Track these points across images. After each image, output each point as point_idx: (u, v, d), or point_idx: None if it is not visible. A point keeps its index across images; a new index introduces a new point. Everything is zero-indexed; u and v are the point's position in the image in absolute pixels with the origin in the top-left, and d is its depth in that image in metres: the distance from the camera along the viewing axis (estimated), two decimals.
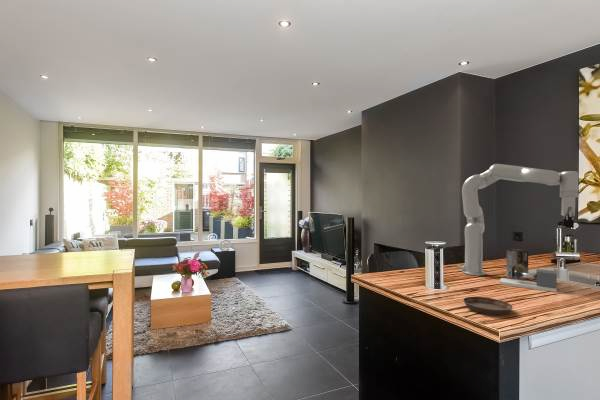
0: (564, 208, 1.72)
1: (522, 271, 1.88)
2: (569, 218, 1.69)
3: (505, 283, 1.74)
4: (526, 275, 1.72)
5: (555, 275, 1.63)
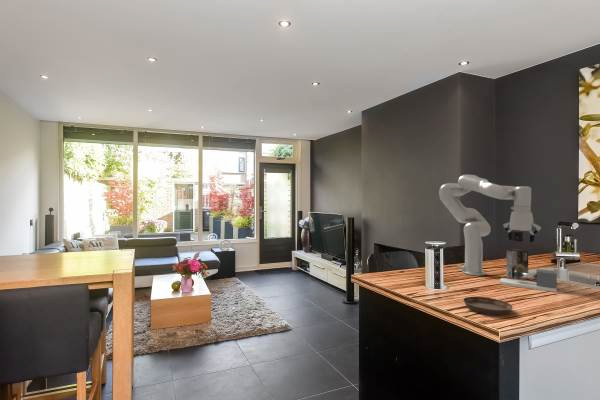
0: (530, 223, 1.73)
1: (522, 271, 1.88)
2: (535, 233, 1.73)
3: (505, 283, 1.74)
4: (526, 275, 1.72)
5: (555, 275, 1.63)
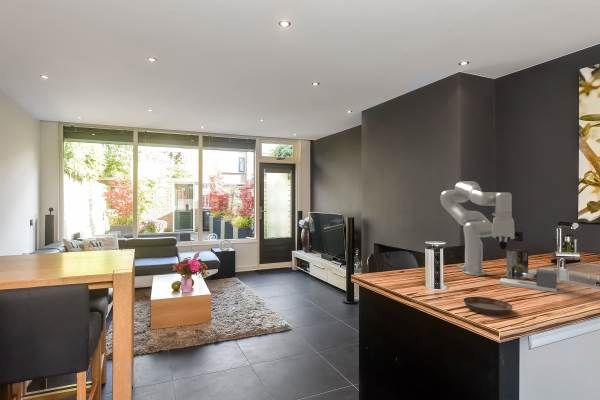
0: (513, 229, 1.74)
1: (522, 271, 1.88)
2: (507, 240, 1.77)
3: (505, 283, 1.74)
4: (526, 275, 1.72)
5: (555, 275, 1.63)
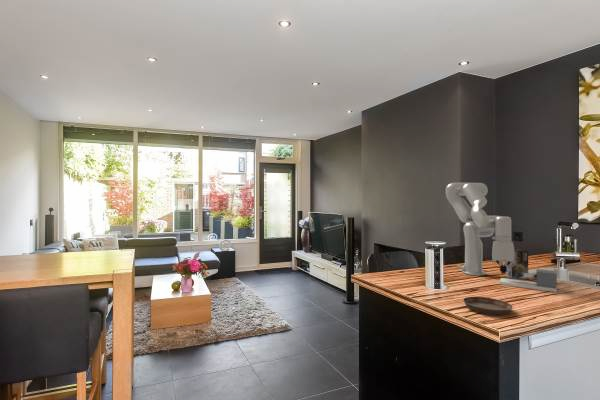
0: (513, 253, 1.74)
1: (522, 271, 1.88)
2: None
3: (505, 283, 1.74)
4: (526, 275, 1.72)
5: (555, 275, 1.63)
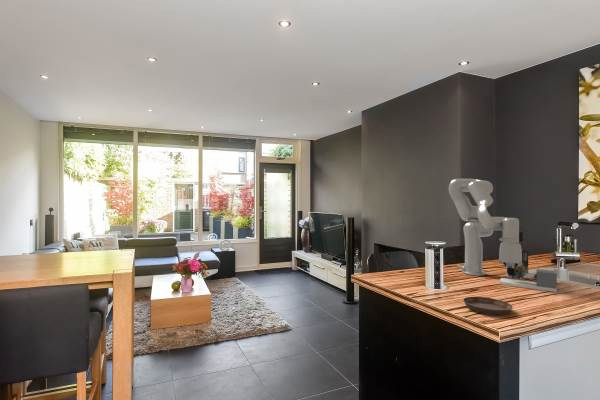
0: (521, 255, 1.73)
1: (522, 271, 1.88)
2: None
3: (505, 283, 1.74)
4: (527, 275, 1.72)
5: (555, 275, 1.63)
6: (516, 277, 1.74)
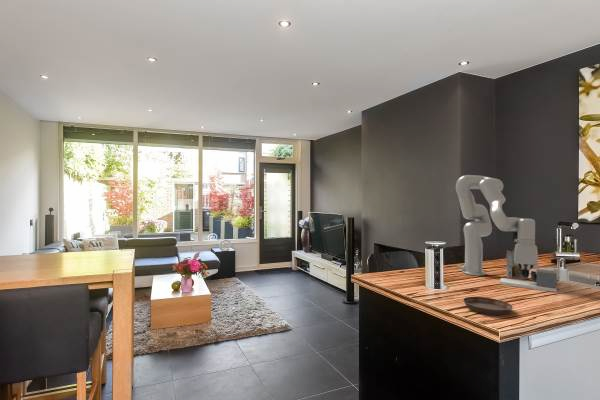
0: (537, 257, 1.69)
1: None
2: None
3: (505, 283, 1.74)
4: None
5: (555, 275, 1.63)
6: (532, 279, 1.70)
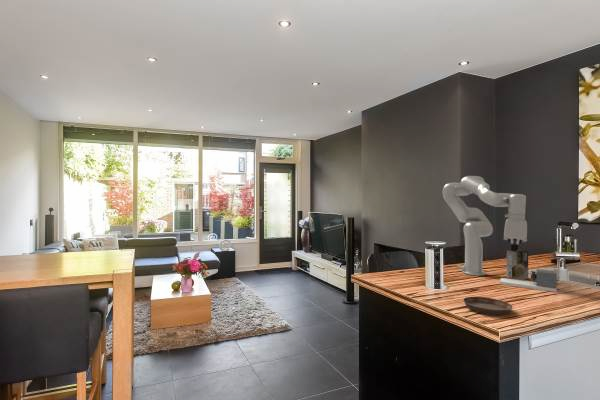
0: (526, 232, 1.72)
1: (522, 271, 1.88)
2: None
3: (505, 283, 1.74)
4: None
5: (555, 275, 1.63)
6: (531, 279, 1.70)
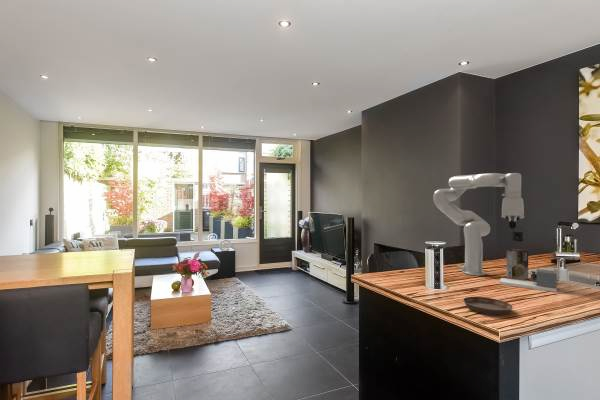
0: (523, 208, 1.78)
1: (522, 271, 1.88)
2: None
3: (505, 283, 1.74)
4: None
5: (555, 275, 1.63)
6: (531, 279, 1.70)
